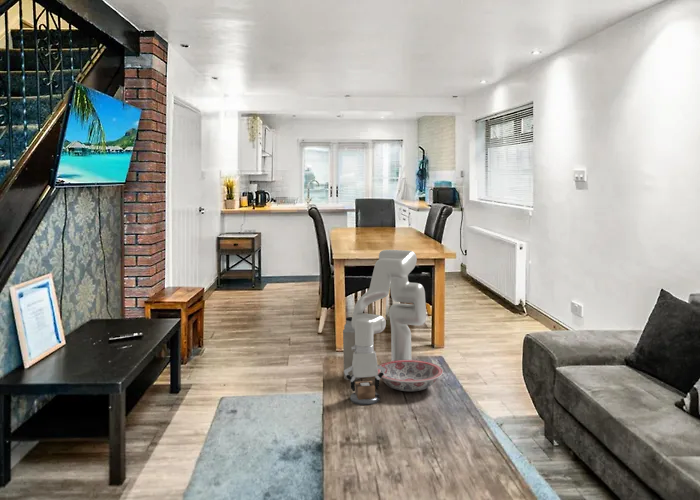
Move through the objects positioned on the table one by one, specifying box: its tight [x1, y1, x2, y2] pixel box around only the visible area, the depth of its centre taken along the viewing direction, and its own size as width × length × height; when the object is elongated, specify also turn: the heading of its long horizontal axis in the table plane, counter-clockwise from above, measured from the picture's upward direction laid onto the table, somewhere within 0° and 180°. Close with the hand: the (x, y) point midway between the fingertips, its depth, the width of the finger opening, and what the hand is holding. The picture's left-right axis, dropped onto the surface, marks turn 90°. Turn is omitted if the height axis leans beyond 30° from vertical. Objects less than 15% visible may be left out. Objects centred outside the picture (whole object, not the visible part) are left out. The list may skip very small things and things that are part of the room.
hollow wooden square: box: [354, 380, 376, 400], centre depth 231 cm, size 7×7×5 cm
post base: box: [349, 382, 381, 406], centre depth 231 cm, size 12×12×6 cm
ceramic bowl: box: [378, 359, 444, 392], centre depth 244 cm, size 29×29×8 cm
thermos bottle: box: [342, 316, 361, 381], centre depth 257 cm, size 8×8×28 cm
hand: (365, 389), depth 231 cm, fingers open, 9 cm apart
